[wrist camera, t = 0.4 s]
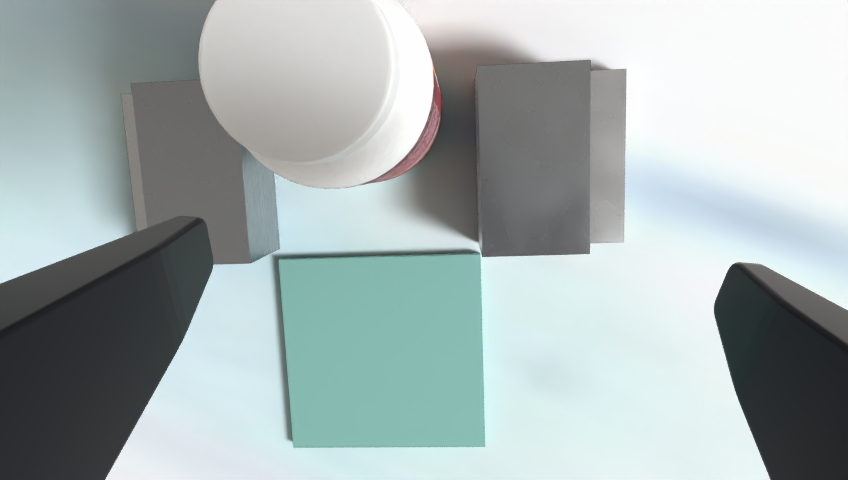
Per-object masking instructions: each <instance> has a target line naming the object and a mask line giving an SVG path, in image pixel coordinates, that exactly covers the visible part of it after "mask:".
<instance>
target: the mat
mask: <svg viewBox="0 0 848 480" xmlns="http://www.w3.org/2000/svg"><path fill="white" fill-rule="evenodd" d="M279 272H280V285H281V298H282V310H283V323H284V335H285V348H286V361H287V373H288V386H289V398H290V411H291V424H292V436H293V448H333V447H485V426H484V385H483V345H482V304H481V264H480V253H459V254H424V255H389V256H354V257H319V258H283V259H280V260H279Z"/></svg>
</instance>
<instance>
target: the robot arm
mask: <svg viewBox="0 0 848 480" xmlns="http://www.w3.org/2000/svg"><path fill="white" fill-rule="evenodd" d="M213 262H214V261H213V252H212V247H211V242H210V237H209V232H208V227H207V224H206V222H205V220H203V219H202V218H200V217H191V216H177V217H175V218H172V219H169V220H167V221H164V222H162V223H159V224H156V225H154V226H151V227H148V228H146V229H143V230H140V231H138V232H135V233H133V234H130V235H127V236H125V237H122V238H119V239H117V240H114V241H112V242H109V243H106V244H104V245H101V246H98V247H96V248H93V249H90V250H88V251H85V252H83V253H80V254H77V255H75V256H72V257H69V258H67V259H64V260H62V261H59V262H56V263H54V264H51V265H48V266H46V267H43V268H41V269H38V270H35V271H33V272H30V273H27V274H25V275H22V276H19V277H17V278H14V279H12V280H9V281H6V282H4V283H1V284H0V480H105V479H106V477H107V475H108V473H109V472H110V470H111V468H112V466H113V465H114V463H115V461H116V459H117V457H118V456H119V454H120V452H121V450H122V448H123V447H124V445H125V443H126V441H127V440H128V438H129V436H130V434H131V432H132V431H133V429H134V427H135V425H136V423H137V422H138V420H139V418H140V416H141V415H142V413H143V411H144V409H145V407H146V406H147V404H148V402H149V400H150V398H151V397H152V395H153V393H154V391H155V390H156V388H157V386H158V384H159V382H160V381H161V379H162V377H163V375H164V373H165V372H166V370H167V368H168V366H169V365H170V363H171V361H172V359H173V357H174V356H175V354H176V352H177V350H178V348H179V346H180V344H181V343H182V341H183V339H184V336H185V334H186V332H187V330H188V327H189V325H190V323H191V320H192V318H193V315H194V313H195V311H196V308H197V306H198V303H199V301H200V298H201V296H202V294H203V291H204V289H205V286H206V284H207V282H208V279H209V277H210V274H211V272H212V269H213ZM714 315H715V319H716V323H717V327H718V330H719V334H720V338H721V341H722V345H723V349H724V353H725V356H726V360H727V364H728V367H729V371H730V375H731V378H732V382H733V385H734V388H735V391H736V394H737V397H738V400H739V402H740V405H741V408H742V410H743V413H744V415H745V418H746V420H747V422H748V425H749V427H750V430H751V432H752V435H753V437H754V440H755V442H756V445H757V447H758V450H759V452H760V455H761V457H762V460H763V462H764V465H765V467H766V470H767V472H768V475H769V477H770V480H848V310H846V309H844V308H842V307H840V306H838V305H836V304H835V303H833V302H831V301H829V300H827V299H825V298H823V297H821V296H820V295H818V294H816V293H814V292H812V291H810V290H808V289H806V288H805V287H803V286H801V285H799V284H797V283H795V282H793V281H791V280H790V279H788V278H786V277H784V276H782V275H780V274H778V273H777V272H775V271H773V270H771V269H769V268H767V267H765V266H763V265H761V264H753V263H741V262H738V263H735V264H733V265H732V266H731V267H730V268H729V270H728V272H727V274H726V276H725V279H724V281H723V284H722V286H721V288H720V291H719V293H718V295H717V298H716V300H715V304H714Z"/></svg>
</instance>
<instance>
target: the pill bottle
mask: <svg viewBox="0 0 848 480" xmlns="http://www.w3.org/2000/svg"><path fill="white" fill-rule="evenodd" d="M198 64H199V74H200V81H201V85H202V89H203V92H204V95H205V98H206V101H207V103H208V105H209V107H210V109H211V111H212V112H213V114H214V115H215V117H216V119H217V120H218V122H219V123H220V124H221V126H222V127H223V128H224V129H225V130H226V131H227V132H228V134H229V135H230V136H232V137H233V138H234V139H235V140H236V141H237V142H239V143H240V144H241V145H243V146H244V147H246V148H247V149H248V151H249V152H250V153H251V154H252V155H253V156H254V157H255V158H256V159H257V160H258V161H259V162H261V163H262V164H263V165H264V166H265V167H267V168H268V169H269V170H271V171H272V172H274V173H276V174H278V175H279V176H281V177H283V178H285V179H287V180H289V181H292V182H295V183H298V184H302V185H305V186H310V187H316V188H323V189H340V188H348V187H354V186H358V185H364V184H368V183H374V182H380V181H385V180H389V179H392V178H395V177H397V176H399V175H401V174H403V173H405V172H407V171H408V170H410V169H411V168H412V167H414V166H415V165H416V164H417V163H419V162H420V161H421V160H422V158H423V157H424V156H425V155H426V154H427V152H428V151H429V149H430V148H431V146H432V144H433V143H434V141H435V138H436V136H437V134H438V131H439V127H440V122H441V116H442V98H441V92H440V87H439V83H438V81H437V76H436V73H435V70H434V66H433V62H432V59H431V55H430V52H429V49H428V46H427V43H426V41H425V38H424V36H423V34H422V32H421V30H420V28H419V26H418V24H417V22H416V21H415V19H414V18H413V16H412V15H411V13H410V12H409V11H408V9H407V8H406V7H405V6H404V5H403V4H402V3H401V2H400V1H399V0H216V1H215V2H214V4H213V5H212V7H211V9H210V11H209V13H208V15H207V18H206V20H205V23H204V26H203V29H202V32H201V37H200V42H199V52H198Z"/></svg>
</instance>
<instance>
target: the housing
mask: <svg viewBox="0 0 848 480" xmlns="http://www.w3.org/2000/svg"><path fill="white" fill-rule="evenodd" d="M131 89H132V94H121V100H122V109H123V117H124V126H125V135H126V143H127V152H128V160H129V169H130V177H131V186H132V194H133V203H134V212H135V220H136V229H137V232H138V231H140V230H143V229H146V228H148V227H151V226H154V225H156V224H159V223H162V222H164V221H167V220H169V219H172V218H175V217H177V216H191V217H200V218H202V219H203V220H205V222H206V224H207V227H208V232H209V237H210V242H211V247H212V252H213V261H214V262H213V264H246V263H252V262H254V261H256V260H258V259H260V258H262V257H264V256H266V255H268V254H270V253H272V252H274V251H276V250H278V249H280V246H279V233H278V220H277V208H276V195H275V182H274V172H272V171H271V170H269V169H268V168H267V167H265V166H264V165H263V164H262V163H261V162H259V161H258V160H257V159H256V158H255V157H254V156H253V155H252V154H251V153H250V152H249V151H248V149H247V148H246V147H244V146H243V145H241V144H240V143H239V142H237V141H236V140H235V139H234V138H233V137H232V136H230V135H229V134H228V132H227V131H226V130H225V129H224V128H223V127H222V126H221V124H220V123H219V122H218V120H217V119H216V117H215V115H214V114H213V112H212V111H211V109H210V107H209V105H208V103H207V101H206V98H205V95H204V92H203V89H202V85H201V81H200V80H189V81H169V82H150V83H131ZM475 115H476V155H477V195H478V235H479V246H480V250H481V254H482V257H496V256H532V255H568V254H590V243H616V242H624V201H625V130H626V69H613V70H593V71H591V60H579V61H560V62H540V63H521V64H501V65H482V66H478V67H477V71H476V76H475Z"/></svg>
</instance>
